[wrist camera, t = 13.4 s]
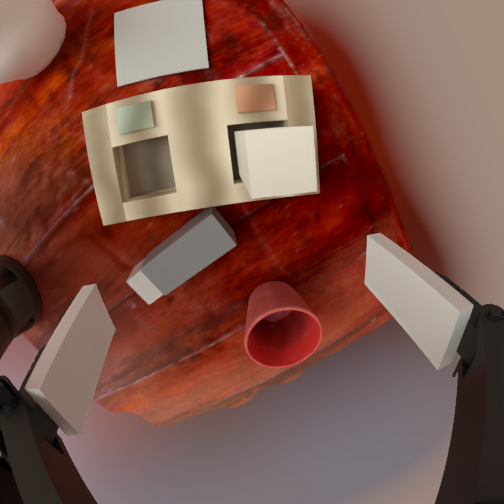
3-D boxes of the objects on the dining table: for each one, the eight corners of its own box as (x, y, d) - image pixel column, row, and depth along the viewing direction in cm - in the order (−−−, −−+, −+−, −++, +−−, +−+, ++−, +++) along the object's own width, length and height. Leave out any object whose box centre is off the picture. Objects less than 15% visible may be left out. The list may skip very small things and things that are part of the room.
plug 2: (237, 171, 34) (251, 198, 21) (232, 131, 32) (244, 130, 19) (277, 166, 35) (317, 191, 21) (273, 127, 32) (312, 125, 19)
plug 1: (155, 288, 42) (149, 306, 37) (133, 264, 40) (124, 281, 35) (234, 231, 40) (236, 245, 35) (212, 203, 38) (211, 213, 33)
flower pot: (232, 324, 46) (236, 366, 37) (247, 265, 42) (256, 302, 33) (292, 330, 48) (306, 370, 39) (313, 276, 44) (335, 312, 35)
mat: (118, 87, 29) (117, 86, 29) (115, 14, 24) (114, 13, 24) (209, 68, 30) (208, 67, 30) (201, -5, 25) (201, -7, 25)
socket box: (118, 211, 36) (101, 227, 30) (101, 113, 30) (80, 112, 24) (305, 183, 38) (321, 194, 32) (296, 83, 32) (312, 74, 26)
